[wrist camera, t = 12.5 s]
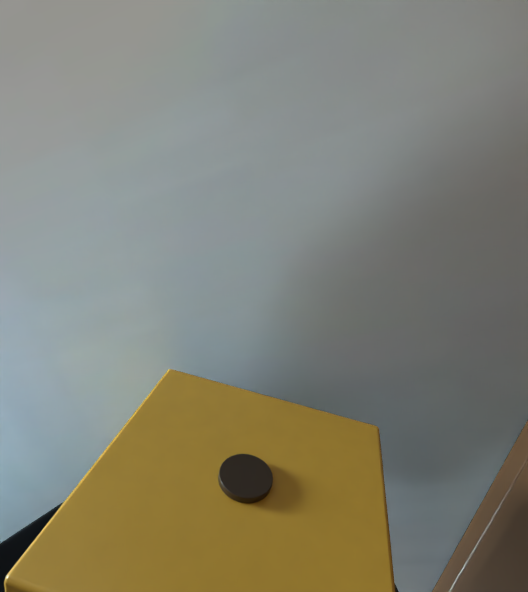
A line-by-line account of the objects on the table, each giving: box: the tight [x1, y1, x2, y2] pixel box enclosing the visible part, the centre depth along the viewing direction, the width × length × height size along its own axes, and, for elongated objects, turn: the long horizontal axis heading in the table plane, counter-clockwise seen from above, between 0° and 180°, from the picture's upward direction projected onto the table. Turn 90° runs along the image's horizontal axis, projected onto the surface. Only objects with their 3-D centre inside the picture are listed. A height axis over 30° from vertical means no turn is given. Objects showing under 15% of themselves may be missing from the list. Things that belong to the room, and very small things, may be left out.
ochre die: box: [4, 369, 395, 592], centre depth 7 cm, size 5×4×5 cm
